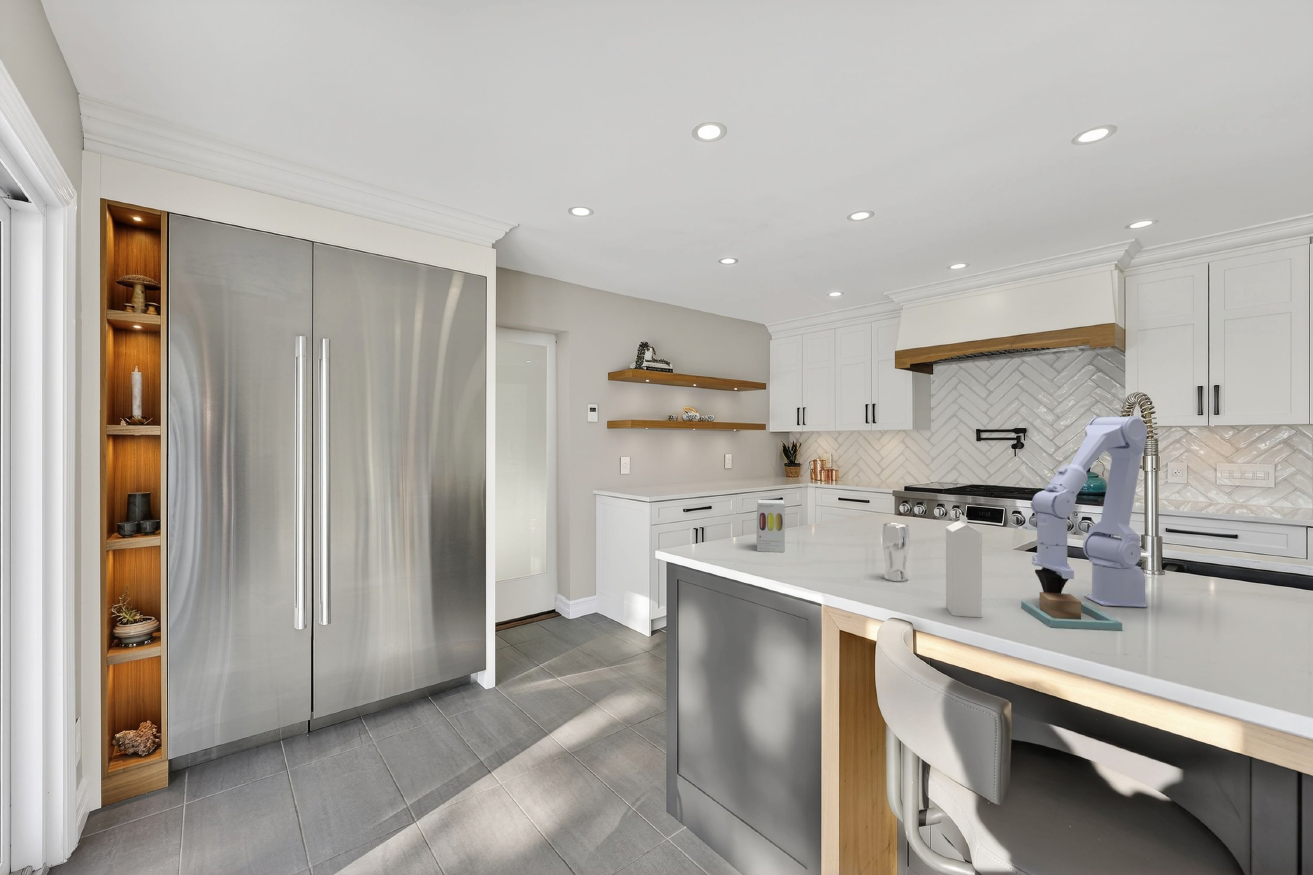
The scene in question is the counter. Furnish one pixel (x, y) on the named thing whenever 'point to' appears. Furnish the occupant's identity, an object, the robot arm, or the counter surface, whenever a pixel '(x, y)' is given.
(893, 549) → the beer glass
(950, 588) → the milk
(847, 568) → the counter surface
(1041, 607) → the walnut block
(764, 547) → the supplement box
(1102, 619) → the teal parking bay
